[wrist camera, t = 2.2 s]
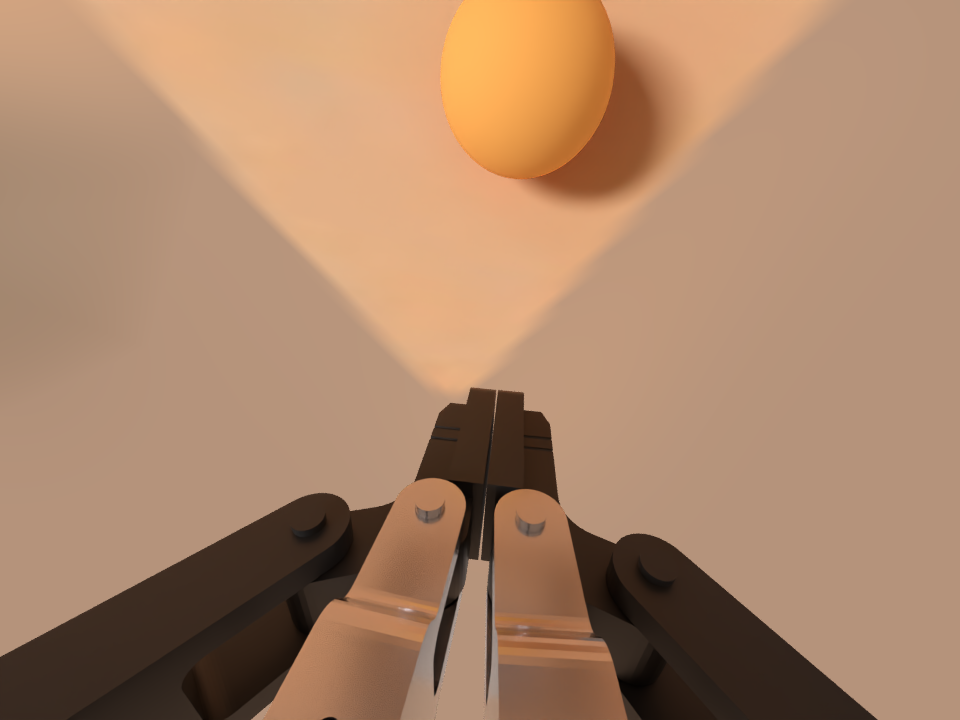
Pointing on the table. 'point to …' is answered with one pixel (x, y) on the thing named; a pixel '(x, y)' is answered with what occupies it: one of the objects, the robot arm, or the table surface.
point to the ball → (526, 81)
